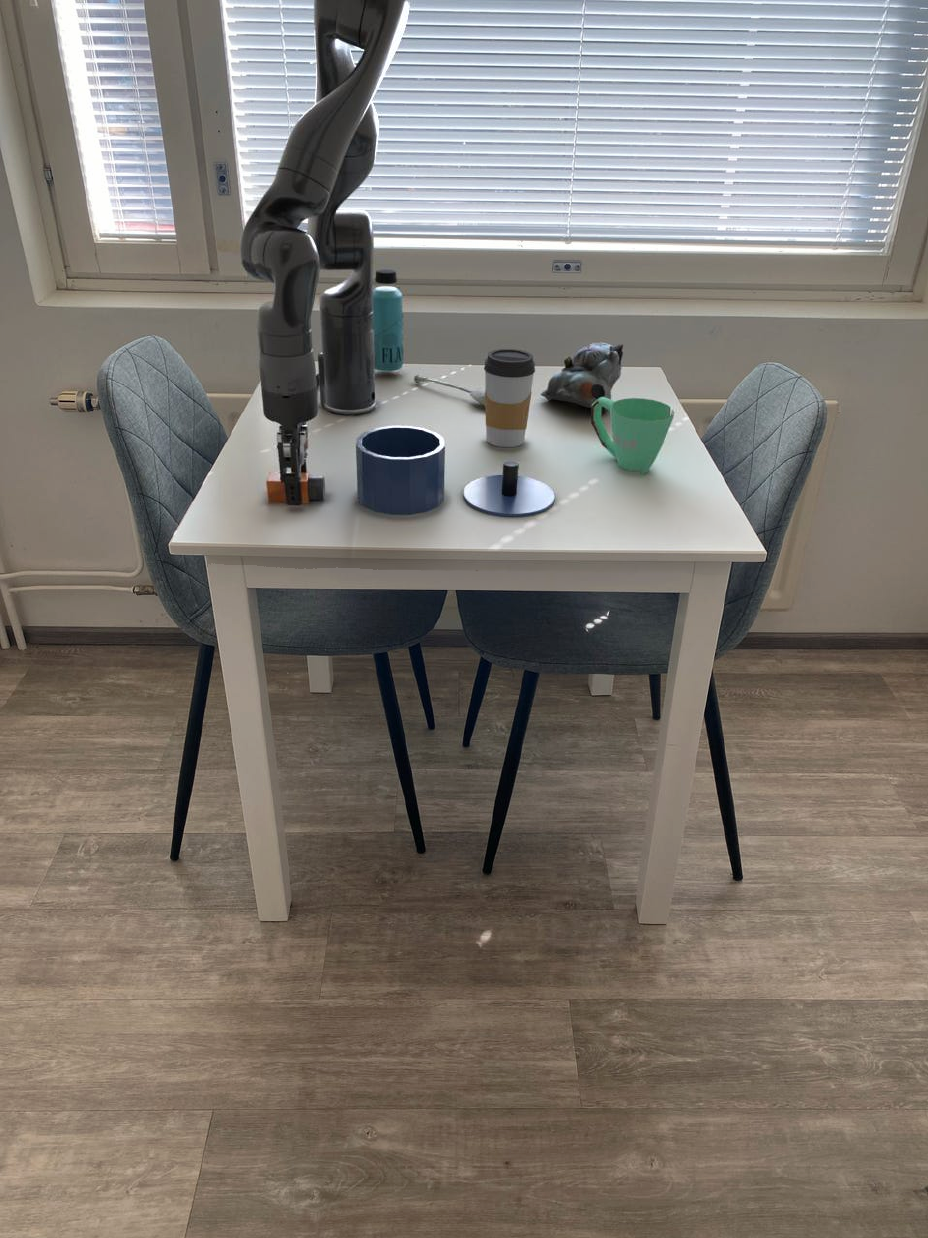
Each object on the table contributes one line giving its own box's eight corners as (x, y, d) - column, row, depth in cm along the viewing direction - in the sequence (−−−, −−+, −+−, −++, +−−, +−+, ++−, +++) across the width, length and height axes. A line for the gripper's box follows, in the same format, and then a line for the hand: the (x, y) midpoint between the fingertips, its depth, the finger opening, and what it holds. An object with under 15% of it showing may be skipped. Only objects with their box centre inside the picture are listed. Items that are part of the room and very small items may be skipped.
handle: (268, 502, 130) (266, 481, 128) (271, 492, 133) (269, 471, 131) (323, 503, 131) (322, 481, 129) (325, 493, 133) (324, 472, 132)
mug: (676, 470, 145) (687, 410, 139) (638, 486, 139) (648, 424, 134) (607, 443, 154) (614, 386, 148) (568, 457, 148) (574, 398, 143)
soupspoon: (493, 417, 164) (515, 410, 169) (495, 399, 162) (517, 392, 167) (405, 385, 175) (427, 379, 179) (406, 368, 173) (428, 362, 178)
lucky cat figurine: (533, 394, 173) (562, 325, 170) (587, 418, 176) (616, 350, 174) (555, 397, 159) (587, 322, 156) (613, 424, 162) (645, 350, 160)
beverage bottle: (379, 380, 178) (377, 274, 167) (366, 370, 183) (363, 267, 172) (409, 376, 180) (408, 272, 169) (395, 366, 185) (394, 265, 174)
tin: (356, 518, 127) (353, 458, 122) (360, 481, 137) (358, 425, 133) (444, 518, 128) (446, 459, 123) (442, 481, 138) (443, 426, 133)
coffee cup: (525, 455, 148) (532, 365, 140) (476, 449, 149) (480, 360, 141) (532, 437, 155) (539, 350, 147) (485, 432, 156) (489, 345, 148)
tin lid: (465, 520, 127) (466, 482, 124) (461, 480, 139) (462, 444, 136) (560, 521, 128) (563, 483, 125) (548, 481, 140) (551, 445, 136)
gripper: (268, 365, 128) (277, 473, 137) (253, 399, 116) (264, 515, 125) (320, 366, 129) (326, 473, 138) (311, 400, 117) (318, 515, 126)
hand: (297, 493), depth 131 cm, fingers open, 7 cm apart
